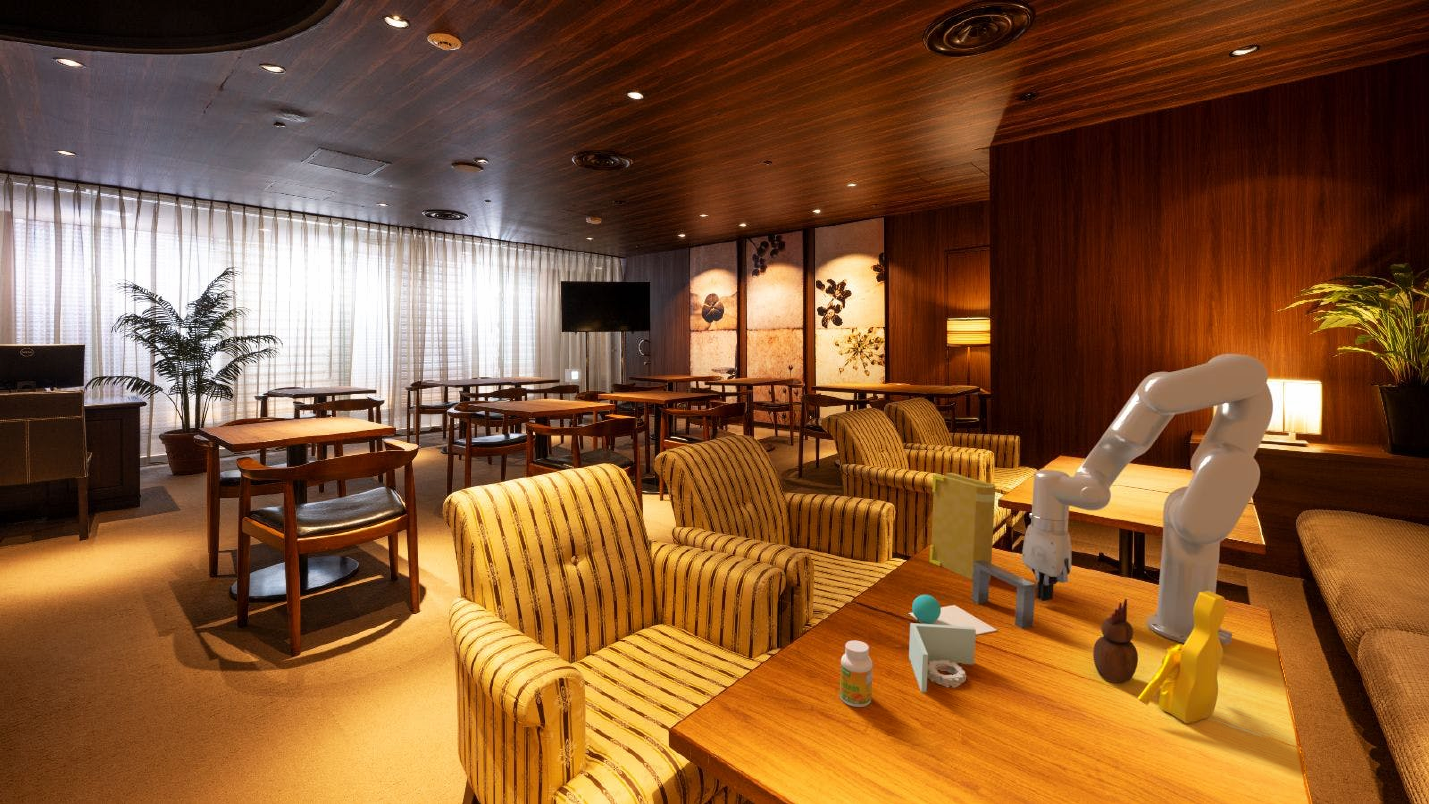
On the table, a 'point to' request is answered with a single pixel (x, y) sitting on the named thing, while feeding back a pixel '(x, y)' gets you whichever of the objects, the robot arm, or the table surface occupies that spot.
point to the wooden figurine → (1116, 648)
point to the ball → (926, 608)
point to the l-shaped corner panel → (940, 652)
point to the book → (961, 523)
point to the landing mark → (960, 619)
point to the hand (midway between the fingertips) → (1044, 598)
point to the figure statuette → (1192, 666)
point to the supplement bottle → (856, 674)
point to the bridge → (1023, 586)
